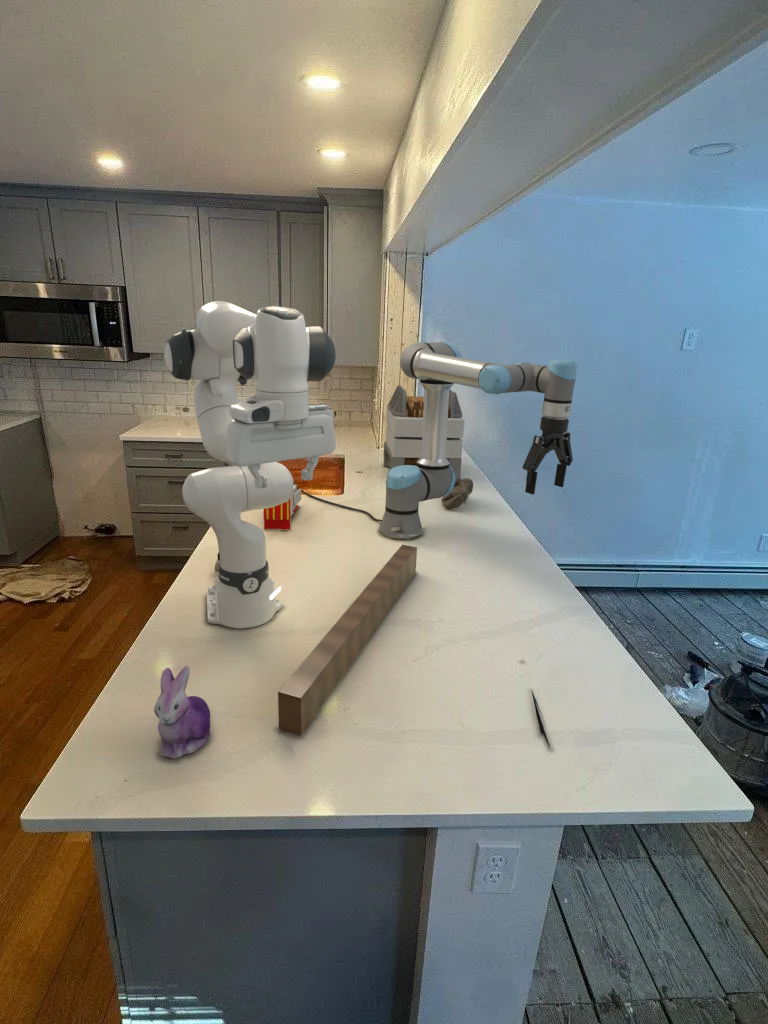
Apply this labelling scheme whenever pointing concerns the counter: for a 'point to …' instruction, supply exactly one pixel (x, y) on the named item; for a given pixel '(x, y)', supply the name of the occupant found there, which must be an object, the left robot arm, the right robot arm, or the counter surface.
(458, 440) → the transformer
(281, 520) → the toy
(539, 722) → the feather
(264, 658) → the counter surface
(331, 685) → the bar
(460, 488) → the fossil
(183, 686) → the figurine
